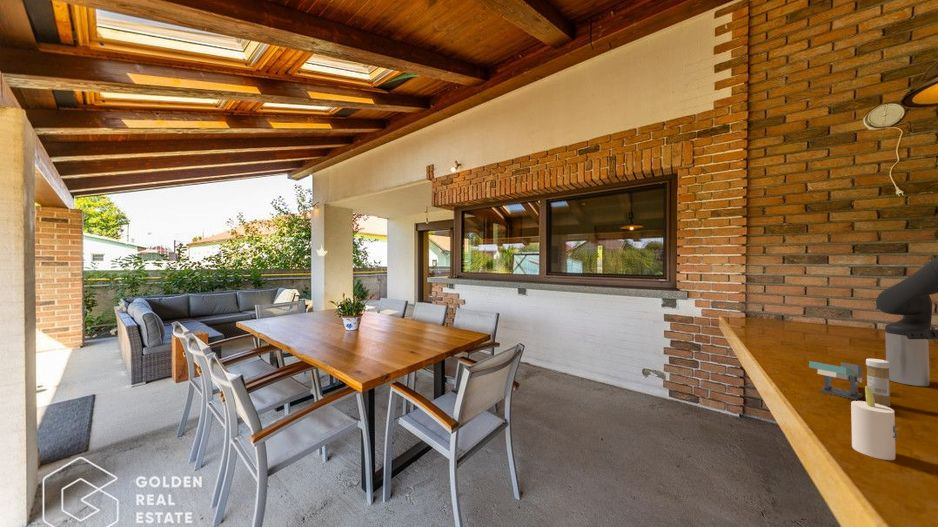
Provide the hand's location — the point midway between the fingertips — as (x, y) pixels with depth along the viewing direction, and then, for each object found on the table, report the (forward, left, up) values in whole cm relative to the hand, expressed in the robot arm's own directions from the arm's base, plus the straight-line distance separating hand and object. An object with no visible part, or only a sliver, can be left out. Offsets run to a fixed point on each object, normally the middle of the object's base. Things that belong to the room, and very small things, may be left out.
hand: (916, 335), depth 93 cm
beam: (-1, -15, -17) cm, 23 cm away
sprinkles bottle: (-1, -7, -23) cm, 24 cm away
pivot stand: (-2, -15, -22) cm, 27 cm away
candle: (+39, -1, -23) cm, 45 cm away
